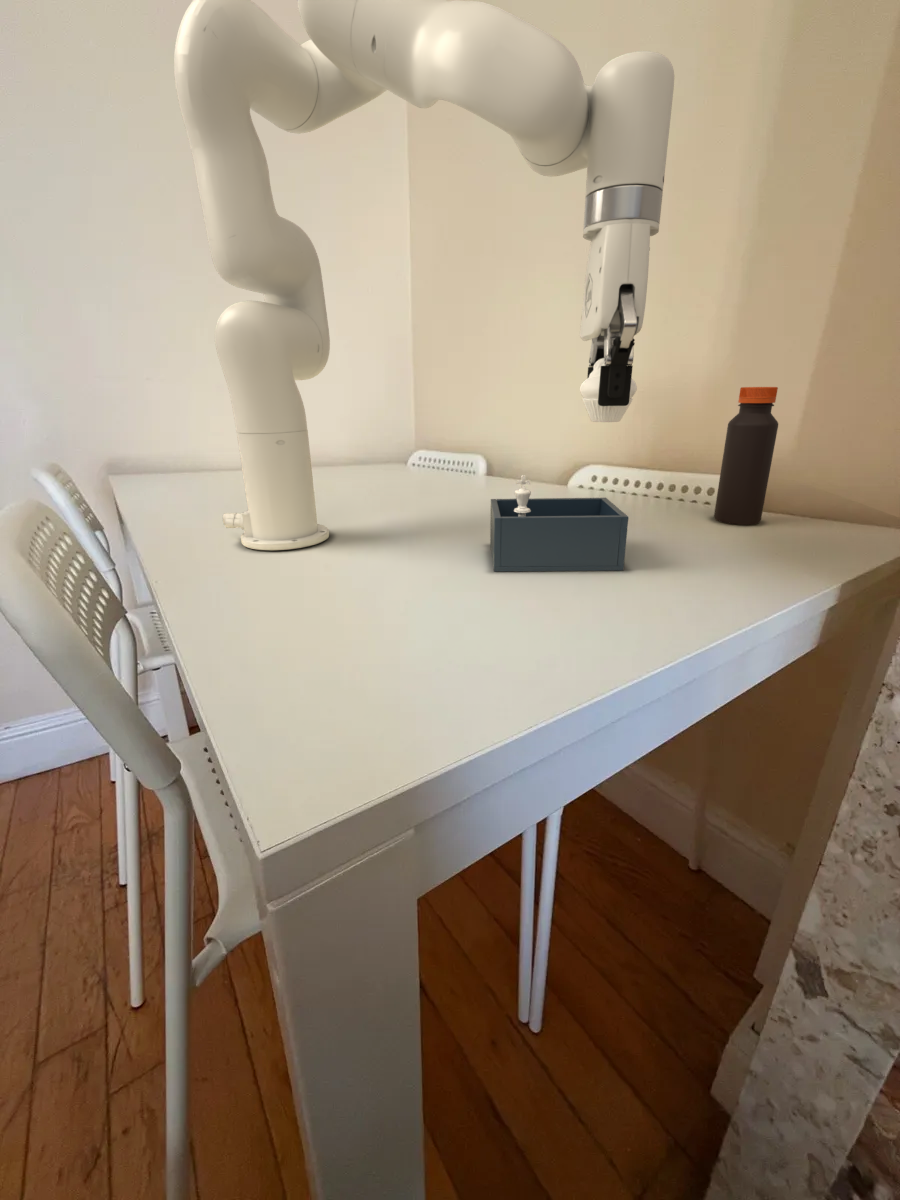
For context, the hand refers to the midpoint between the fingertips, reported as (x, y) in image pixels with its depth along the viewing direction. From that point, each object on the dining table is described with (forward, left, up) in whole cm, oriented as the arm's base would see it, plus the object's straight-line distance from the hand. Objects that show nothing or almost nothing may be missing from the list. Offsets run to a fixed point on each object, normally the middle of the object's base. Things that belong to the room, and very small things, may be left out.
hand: (606, 402), depth 64 cm
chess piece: (-9, +3, -19) cm, 21 cm away
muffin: (0, 0, -2) cm, 2 cm away
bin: (-5, +3, -19) cm, 20 cm away
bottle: (+27, +22, -19) cm, 40 cm away
